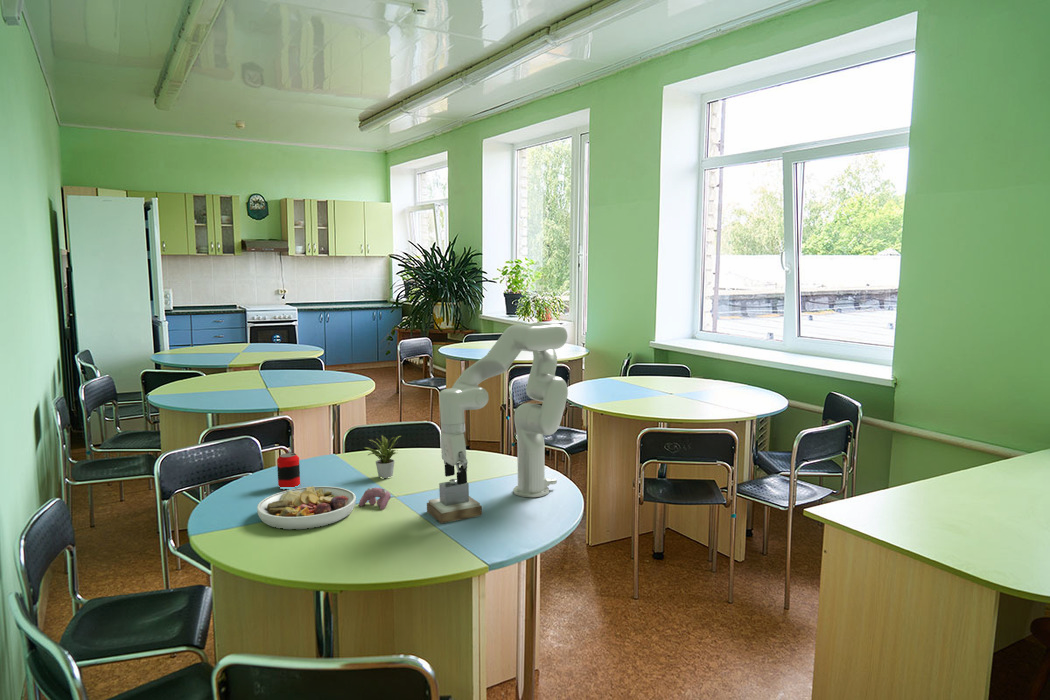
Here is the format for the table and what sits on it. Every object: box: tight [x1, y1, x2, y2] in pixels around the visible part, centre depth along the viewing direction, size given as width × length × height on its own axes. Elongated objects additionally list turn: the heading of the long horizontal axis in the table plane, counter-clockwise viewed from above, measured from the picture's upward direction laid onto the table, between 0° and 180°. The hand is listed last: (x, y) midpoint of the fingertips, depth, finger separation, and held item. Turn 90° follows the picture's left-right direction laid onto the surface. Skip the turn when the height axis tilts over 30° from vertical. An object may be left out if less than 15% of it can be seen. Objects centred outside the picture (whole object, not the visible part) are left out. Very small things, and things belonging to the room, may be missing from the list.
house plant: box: [364, 435, 401, 478], centre depth 254 cm, size 14×14×16 cm
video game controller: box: [358, 487, 392, 511], centre depth 222 cm, size 10×5×7 cm, turn 67°
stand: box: [426, 495, 483, 524], centre depth 213 cm, size 14×12×4 cm
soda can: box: [276, 452, 301, 487], centre depth 242 cm, size 8×8×12 cm
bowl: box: [256, 485, 357, 530], centre depth 213 cm, size 30×30×8 cm
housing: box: [438, 478, 470, 506], centre depth 213 cm, size 5×8×7 cm, turn 119°
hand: (456, 479), depth 213 cm, fingers open, 9 cm apart
